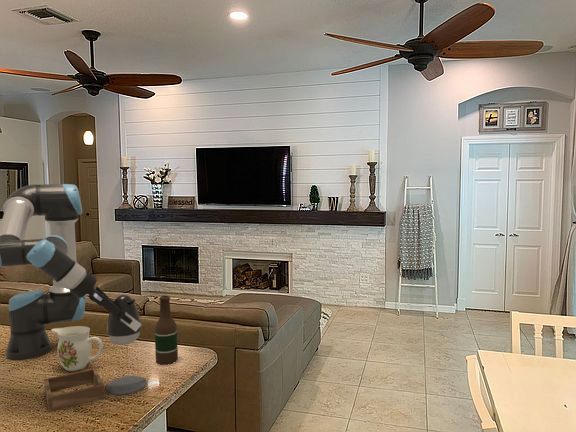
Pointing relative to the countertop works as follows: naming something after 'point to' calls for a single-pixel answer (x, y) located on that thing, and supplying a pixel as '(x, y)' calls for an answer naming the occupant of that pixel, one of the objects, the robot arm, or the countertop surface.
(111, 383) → the coaster
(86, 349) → the pitcher
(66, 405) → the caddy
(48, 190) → the robot arm
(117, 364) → the countertop surface
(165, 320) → the beer bottle
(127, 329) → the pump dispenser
